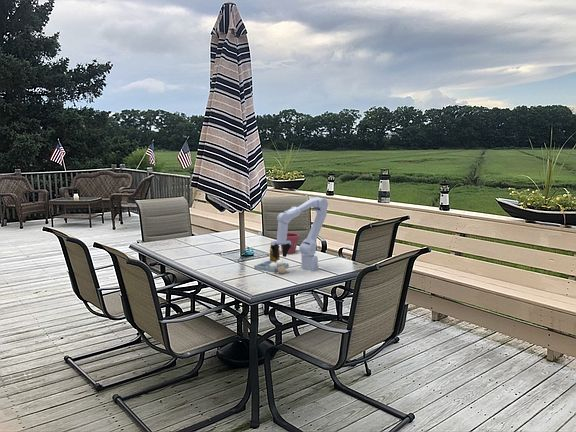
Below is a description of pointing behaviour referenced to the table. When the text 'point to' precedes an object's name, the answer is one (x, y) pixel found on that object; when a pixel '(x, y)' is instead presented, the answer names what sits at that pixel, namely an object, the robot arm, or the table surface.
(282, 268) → the brown egg
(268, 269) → the egg tray
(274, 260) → the condiment
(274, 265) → the white egg left
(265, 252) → the table surface
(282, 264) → the white egg near
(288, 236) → the plant pot
